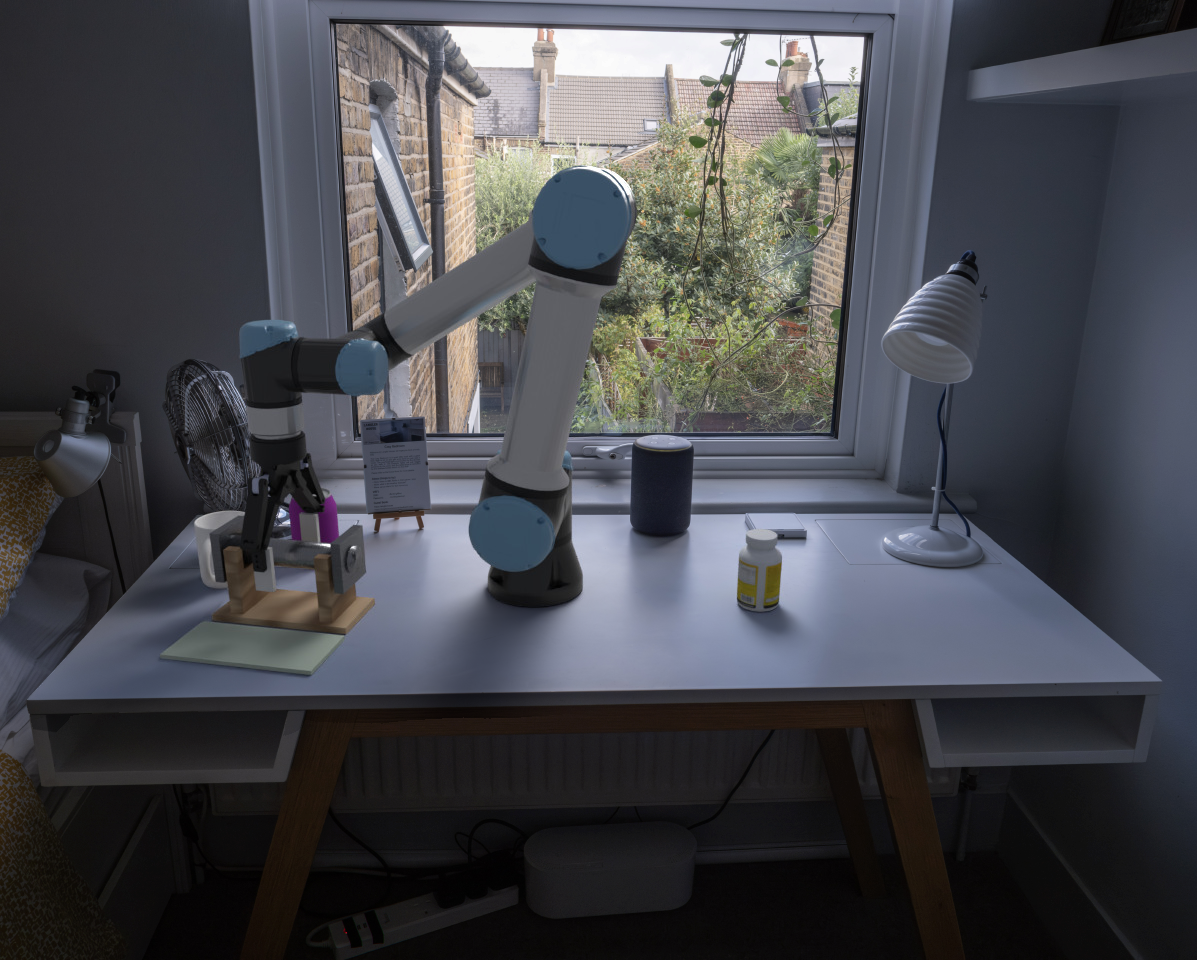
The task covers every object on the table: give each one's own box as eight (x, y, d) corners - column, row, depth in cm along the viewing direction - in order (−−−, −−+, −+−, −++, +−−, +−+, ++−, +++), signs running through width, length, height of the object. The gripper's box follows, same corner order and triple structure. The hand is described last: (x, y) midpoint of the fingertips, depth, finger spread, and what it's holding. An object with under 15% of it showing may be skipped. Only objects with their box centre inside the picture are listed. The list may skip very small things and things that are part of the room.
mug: (232, 601, 142) (225, 539, 139) (180, 599, 143) (171, 537, 140) (265, 569, 154) (258, 511, 150) (216, 567, 154) (209, 509, 151)
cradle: (375, 604, 142) (370, 537, 138) (346, 634, 132) (340, 563, 129) (249, 591, 145) (241, 526, 142) (212, 620, 136) (203, 551, 133)
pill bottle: (783, 600, 144) (788, 530, 141) (772, 617, 139) (778, 545, 135) (742, 592, 147) (747, 523, 143) (730, 608, 141) (735, 537, 138)
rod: (369, 573, 139) (365, 525, 136) (346, 594, 132) (342, 544, 129) (240, 561, 142) (235, 515, 140) (212, 581, 135) (206, 533, 133)
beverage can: (284, 564, 156) (277, 497, 152) (314, 548, 162) (308, 483, 159) (321, 572, 153) (315, 503, 149) (350, 555, 160) (344, 489, 156)
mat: (344, 639, 131) (344, 635, 131) (311, 675, 122) (311, 671, 121) (203, 624, 135) (203, 621, 135) (160, 658, 125) (159, 654, 125)
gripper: (295, 409, 142) (307, 537, 149) (200, 455, 119) (219, 604, 126) (341, 412, 141) (350, 541, 148) (254, 459, 118) (270, 610, 124)
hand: (290, 571), depth 137 cm, fingers open, 13 cm apart
